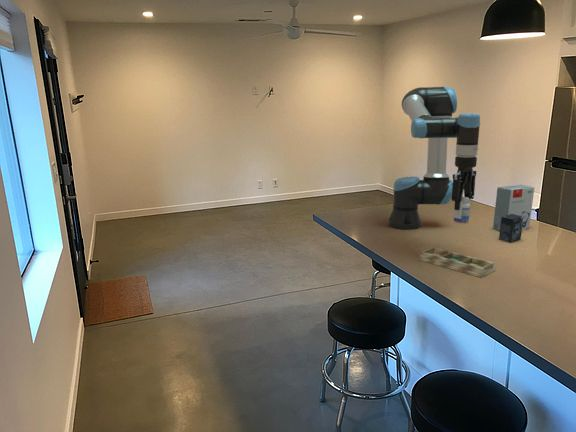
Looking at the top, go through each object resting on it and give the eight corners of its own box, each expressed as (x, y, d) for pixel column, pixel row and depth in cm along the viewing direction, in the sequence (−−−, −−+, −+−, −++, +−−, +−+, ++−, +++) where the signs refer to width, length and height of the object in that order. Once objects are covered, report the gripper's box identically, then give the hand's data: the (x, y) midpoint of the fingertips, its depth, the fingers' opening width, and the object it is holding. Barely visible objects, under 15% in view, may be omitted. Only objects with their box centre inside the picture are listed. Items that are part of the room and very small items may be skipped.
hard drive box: (505, 233, 212) (509, 189, 207) (492, 228, 219) (496, 187, 214) (530, 228, 218) (534, 186, 213) (516, 224, 225) (520, 184, 220)
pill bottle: (451, 220, 182) (453, 196, 180) (464, 220, 183) (467, 196, 180) (457, 224, 177) (459, 199, 175) (470, 224, 178) (473, 199, 175)
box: (510, 243, 198) (513, 218, 196) (498, 239, 203) (500, 216, 200) (521, 239, 203) (523, 216, 200) (509, 236, 207) (511, 213, 205)
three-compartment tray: (418, 259, 180) (419, 252, 179) (433, 253, 186) (433, 246, 186) (481, 277, 162) (482, 269, 161) (495, 270, 168) (495, 262, 167)
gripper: (463, 159, 165) (458, 222, 171) (487, 154, 177) (482, 214, 183) (443, 157, 171) (439, 219, 176) (468, 153, 182) (464, 211, 188)
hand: (461, 216), depth 179 cm, fingers closed on pill bottle, 5 cm apart
